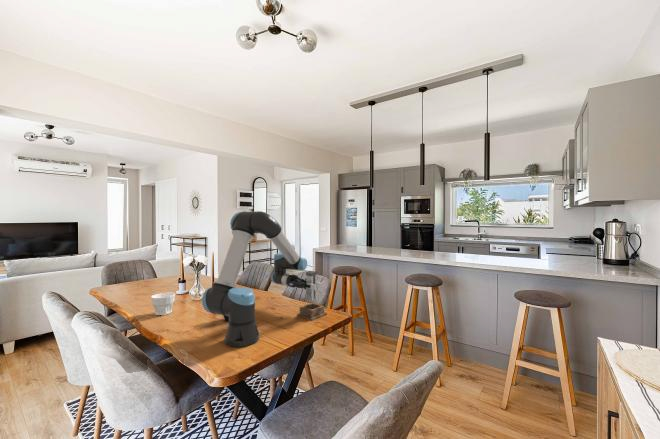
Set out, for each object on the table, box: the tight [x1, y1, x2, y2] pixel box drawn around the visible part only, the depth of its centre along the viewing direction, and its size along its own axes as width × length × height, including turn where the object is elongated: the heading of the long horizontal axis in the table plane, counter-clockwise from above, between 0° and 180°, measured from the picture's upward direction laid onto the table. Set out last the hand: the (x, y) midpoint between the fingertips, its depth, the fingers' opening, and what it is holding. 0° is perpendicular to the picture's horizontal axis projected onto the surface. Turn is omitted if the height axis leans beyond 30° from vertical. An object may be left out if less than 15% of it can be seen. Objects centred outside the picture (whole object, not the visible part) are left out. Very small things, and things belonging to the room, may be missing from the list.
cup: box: [150, 291, 176, 315], centre depth 174 cm, size 12×12×11 cm
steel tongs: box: [305, 270, 318, 302], centre depth 168 cm, size 4×6×16 cm
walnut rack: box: [296, 302, 328, 321], centre depth 167 cm, size 12×12×5 cm
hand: (318, 286), depth 164 cm, fingers closed on steel tongs, 4 cm apart
